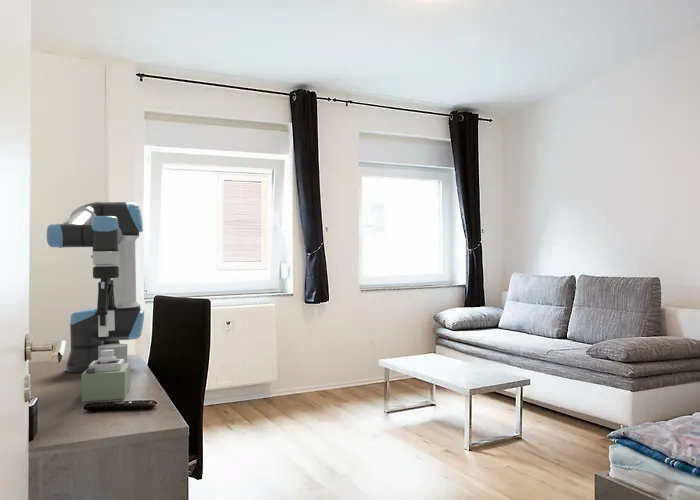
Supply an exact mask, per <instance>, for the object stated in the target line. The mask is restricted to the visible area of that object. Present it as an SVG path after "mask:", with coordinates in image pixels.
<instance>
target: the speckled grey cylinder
mask: <svg viewBox="0 0 700 500" xmlns="http://www.w3.org/2000/svg"><path fill="white" fill-rule="evenodd" d="M128 346H129V345H128V344H127V343H120V344H107V345H101V346H98V359H99V358H100V357H101V355H100V351H101V350H107V349H112V350H114V355H113V356H115V357H116V359H124V363H129V362H128V361H129V360H128Z"/></svg>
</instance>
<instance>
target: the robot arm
mask: <svg viewBox="0 0 700 500" xmlns="http://www.w3.org/2000/svg"><path fill="white" fill-rule="evenodd" d="M69 216H70V217H69V218H68V219H66V221H64V222H63V223H55V224H54V223H53V224H49V225H48V226H47V229H46V241H47V245H48V246H49V247H50V248H59V249H61V248H92V254H91V255H90V259H92V265H93V267H92V278H93V279H97V280H98V279H99V280H100V281H98V283H97V288H98V291H97V304H96V305H97V307H93V308H88V309H82V310H78V311H74V312H72V313H71V315H70V323H69V327H70V329H69V332H70V335H69V336H70V352H69V355H68V358H67V360H66V363H65V372H66V371H67V373H72V372H73V373H74V374H75V373H76V374H77V373H80V374H82V373H83V372H84V371H85V370H86V369H88V368H89V365H90V364H91V363H92V362H93V361H96V360H98V346H101V345H103V341H115V340H119V341H130V340H131V341H132V340H138V339H140V338H141V336H142V333H143V329H144V320H145V310H144V309H142V308H141V304H140V303H139V302H137V281H136V280H137V276H136V275H137V274H136V273H137V270H136V269H137V266H136V264H137V263H136V240H138V238H140V233H142V232H144V227H143V217H142V211H141V208H140V205H139V204H138V203H137V202H129V201H128V202H127V201H118V202H117V201H109V202H108V201H106V202H103V201H94V202H91V203H86V204H84V205H81V206H79V207H77V208H75V209H74V210H73V211H72V212H71V214H70V215H69Z"/></svg>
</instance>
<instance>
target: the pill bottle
mask: <svg viewBox="0 0 700 500" xmlns="http://www.w3.org/2000/svg"><path fill="white" fill-rule="evenodd" d="M100 355H101V357H100V358H99V359H98V364H113V363H116V357H115V356H113V355H114V350H112V349H107V350H101V351H100Z"/></svg>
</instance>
